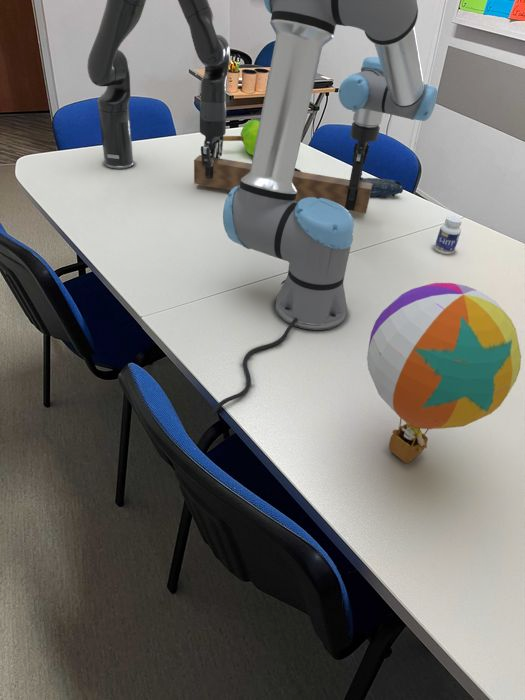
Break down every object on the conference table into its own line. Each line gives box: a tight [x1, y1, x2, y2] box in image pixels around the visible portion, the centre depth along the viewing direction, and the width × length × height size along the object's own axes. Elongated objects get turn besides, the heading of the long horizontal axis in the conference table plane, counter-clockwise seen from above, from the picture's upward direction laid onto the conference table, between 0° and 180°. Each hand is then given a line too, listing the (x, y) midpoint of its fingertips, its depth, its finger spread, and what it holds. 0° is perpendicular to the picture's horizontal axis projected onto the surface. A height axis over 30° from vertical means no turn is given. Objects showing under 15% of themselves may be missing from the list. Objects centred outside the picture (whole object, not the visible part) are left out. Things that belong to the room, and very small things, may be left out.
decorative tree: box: [223, 119, 260, 156], centre depth 187 cm, size 18×10×30 cm
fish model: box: [359, 177, 404, 198], centre depth 166 cm, size 7×21×5 cm, turn 84°
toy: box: [366, 282, 522, 464], centre depth 73 cm, size 20×20×30 cm
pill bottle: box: [434, 215, 463, 255], centre depth 137 cm, size 5×5×9 cm
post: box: [193, 154, 372, 214], centre depth 155 cm, size 53×5×7 cm, turn 75°
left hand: (211, 174), depth 159 cm, fingers closed on post, 5 cm apart
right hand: (350, 205), depth 154 cm, fingers closed on post, 5 cm apart
